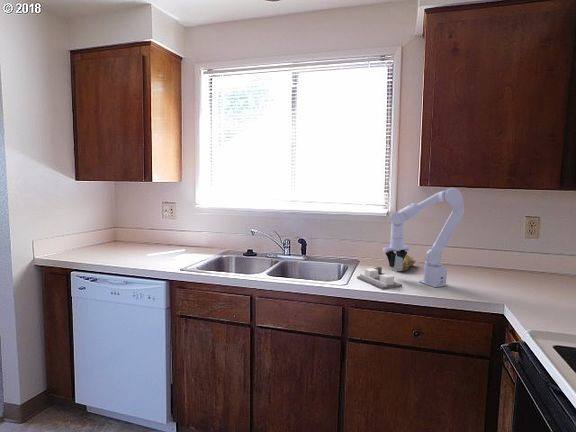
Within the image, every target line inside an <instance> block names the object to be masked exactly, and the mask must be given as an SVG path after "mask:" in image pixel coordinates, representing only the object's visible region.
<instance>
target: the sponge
mask: <svg viewBox="0 0 576 432" xmlns="http://www.w3.org/2000/svg"><path fill="white" fill-rule="evenodd" d="M415 263H416V259H415V258H414V257H412V256H410V255H408V254H406V256H405V258H404V260H403V264H402V271H407V270H408V269H409V268H410V267H412V266H413V265H415Z"/></svg>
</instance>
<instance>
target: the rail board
mask: <svg viewBox="0 0 576 432" xmlns="http://www.w3.org/2000/svg"><path fill="white" fill-rule="evenodd" d="M356 279H358V280H359V281H362V282H364V283H367V284H369V285H371V286H373V287H375V288H378V289H380V290H387V289H394V288H402V287H403V283H400V282H399V281H396V280H395V276H394V275H391V274H390V273H388V274H386V273H385V274H378V270H376V269H374V268H370V267H369V268H365V269H364V274H363V273H359V275H357V276H356Z"/></svg>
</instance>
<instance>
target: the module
mask: <svg viewBox="0 0 576 432" xmlns="http://www.w3.org/2000/svg"><path fill="white" fill-rule="evenodd" d="M402 264H403V258H401V257H398V256H397V255H396V257H395V261H394V267H390V265H389V262H388V267H387V268H388V269H387V270H389V271H390V270H391V271H393V272H401V271H402Z"/></svg>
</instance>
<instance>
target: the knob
mask: <svg viewBox="0 0 576 432" xmlns="http://www.w3.org/2000/svg"><path fill="white" fill-rule="evenodd" d="M373 269H376V270H378V274H379V275H383V274H382V273H383V272H382V271H383V267H381V266H374V268H373Z"/></svg>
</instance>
